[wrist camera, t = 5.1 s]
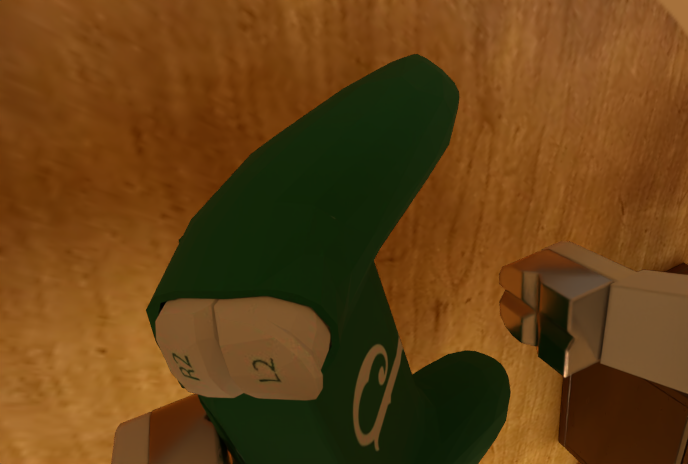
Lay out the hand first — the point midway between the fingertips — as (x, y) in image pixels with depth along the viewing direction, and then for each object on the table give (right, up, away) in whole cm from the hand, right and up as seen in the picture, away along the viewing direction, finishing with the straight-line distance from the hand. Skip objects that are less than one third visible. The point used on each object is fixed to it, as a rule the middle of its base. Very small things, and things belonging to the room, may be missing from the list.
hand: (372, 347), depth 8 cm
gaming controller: (-1, +1, +2) cm, 2 cm away
